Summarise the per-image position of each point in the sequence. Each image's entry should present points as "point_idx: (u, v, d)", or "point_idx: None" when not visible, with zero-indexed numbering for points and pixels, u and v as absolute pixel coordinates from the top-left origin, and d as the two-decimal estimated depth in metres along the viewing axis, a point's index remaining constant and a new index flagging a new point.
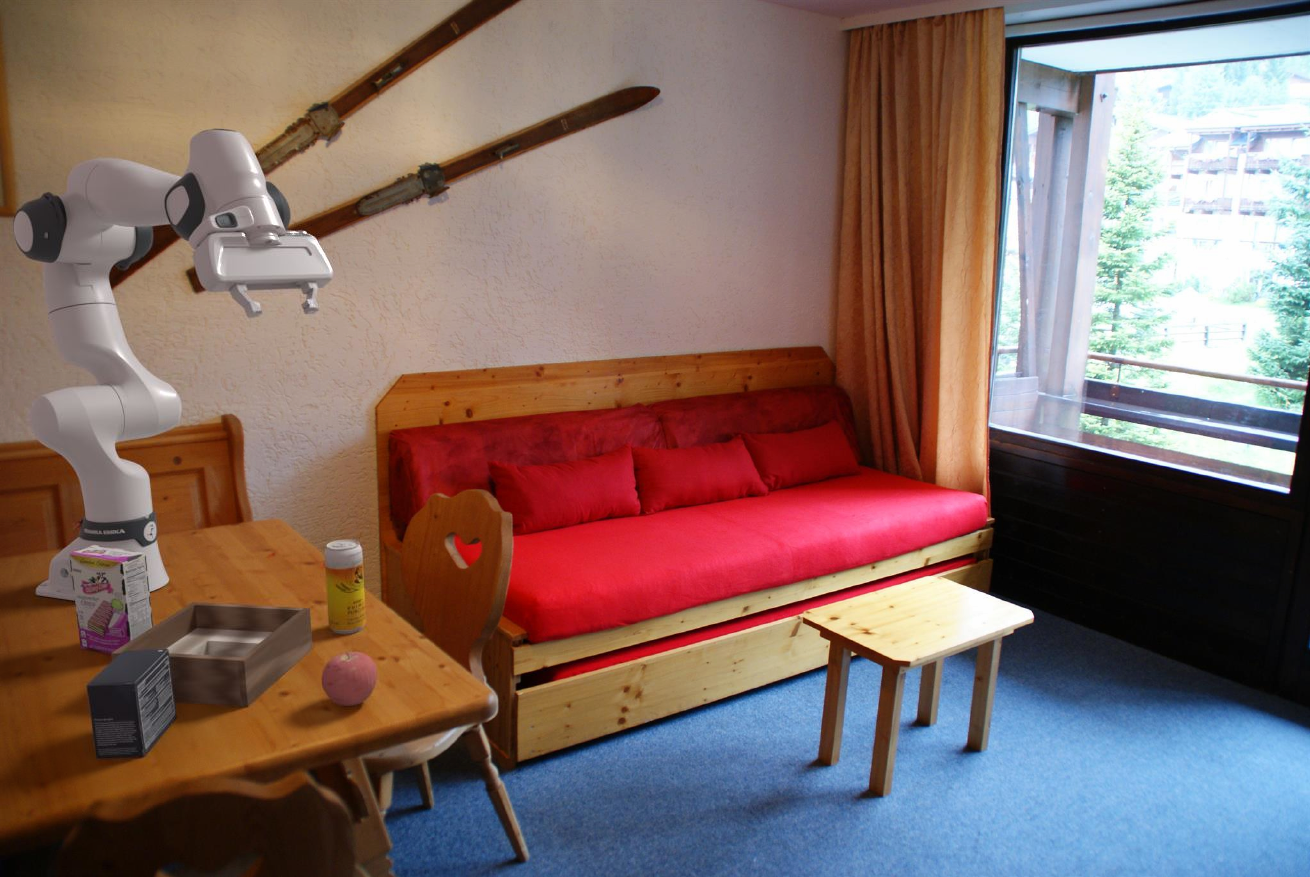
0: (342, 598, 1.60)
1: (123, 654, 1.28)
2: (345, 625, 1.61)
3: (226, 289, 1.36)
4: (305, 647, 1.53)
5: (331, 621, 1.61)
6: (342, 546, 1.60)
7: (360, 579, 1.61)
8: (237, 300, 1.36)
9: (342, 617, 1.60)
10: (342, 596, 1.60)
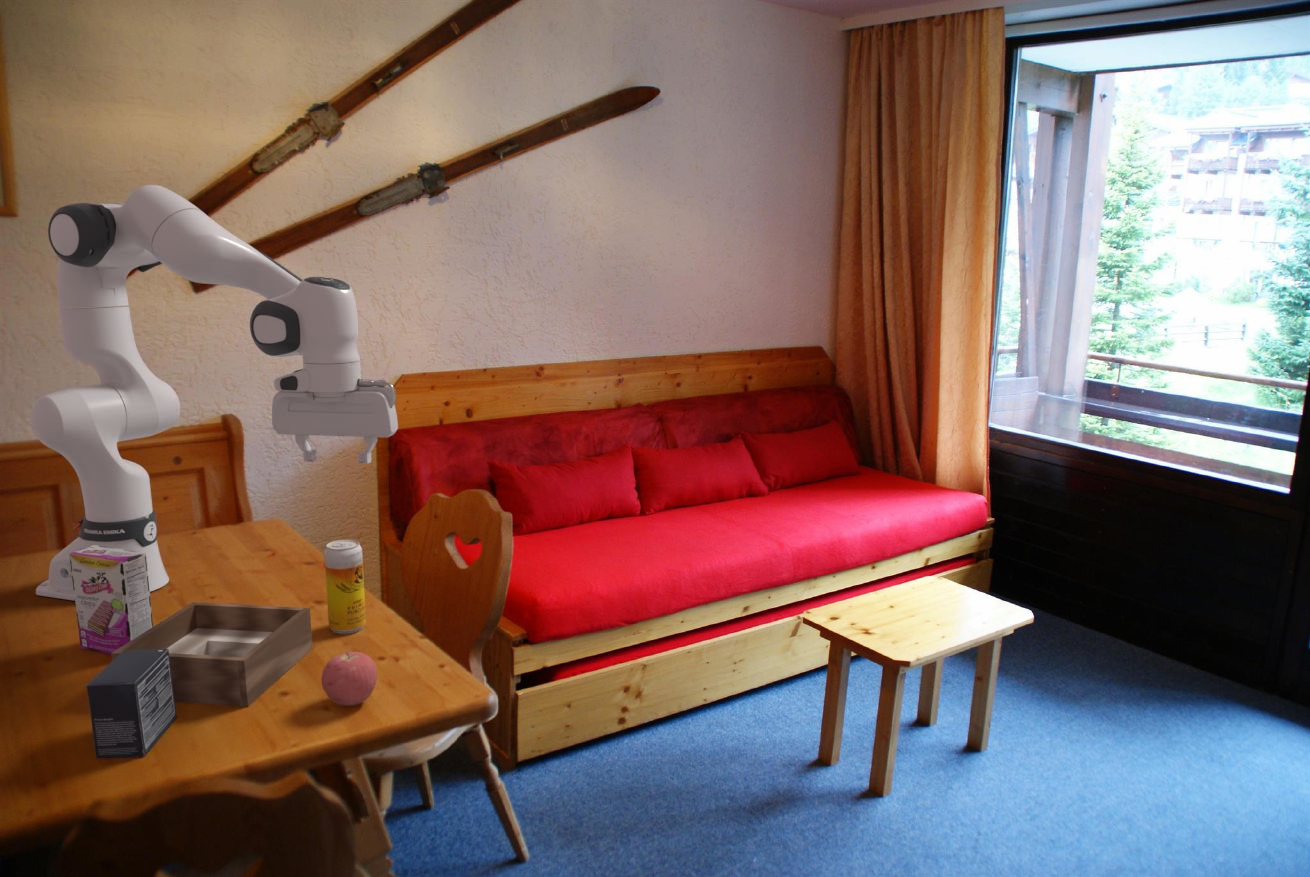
0: (342, 598, 1.60)
1: (123, 654, 1.28)
2: (345, 625, 1.61)
3: None
4: (305, 647, 1.53)
5: (331, 621, 1.61)
6: (342, 546, 1.60)
7: (360, 579, 1.61)
8: None
9: (342, 617, 1.60)
10: (342, 596, 1.60)
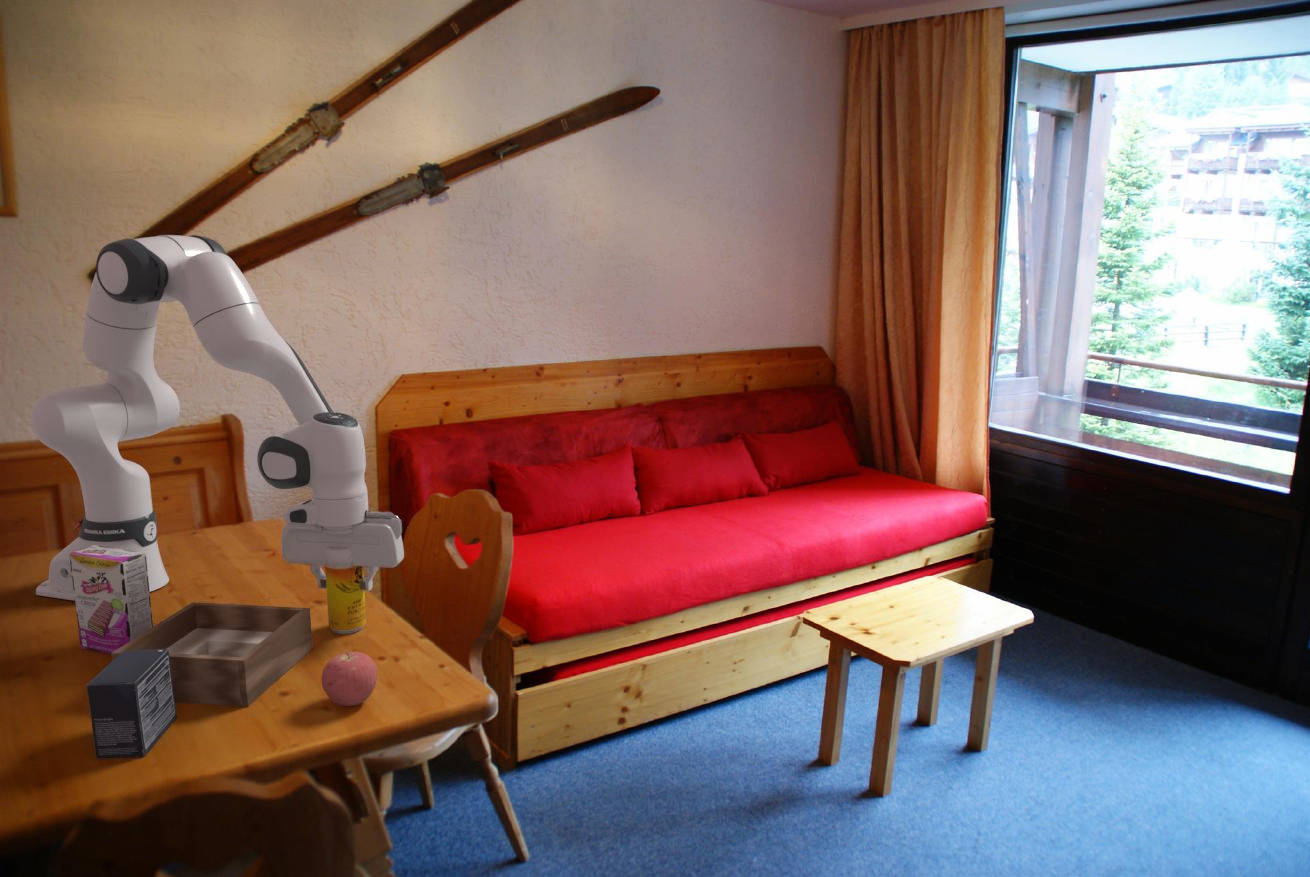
0: (342, 598, 1.60)
1: (123, 654, 1.28)
2: (345, 624, 1.61)
3: None
4: (305, 647, 1.53)
5: (331, 621, 1.61)
6: None
7: (360, 579, 1.61)
8: None
9: (342, 617, 1.60)
10: (342, 596, 1.60)
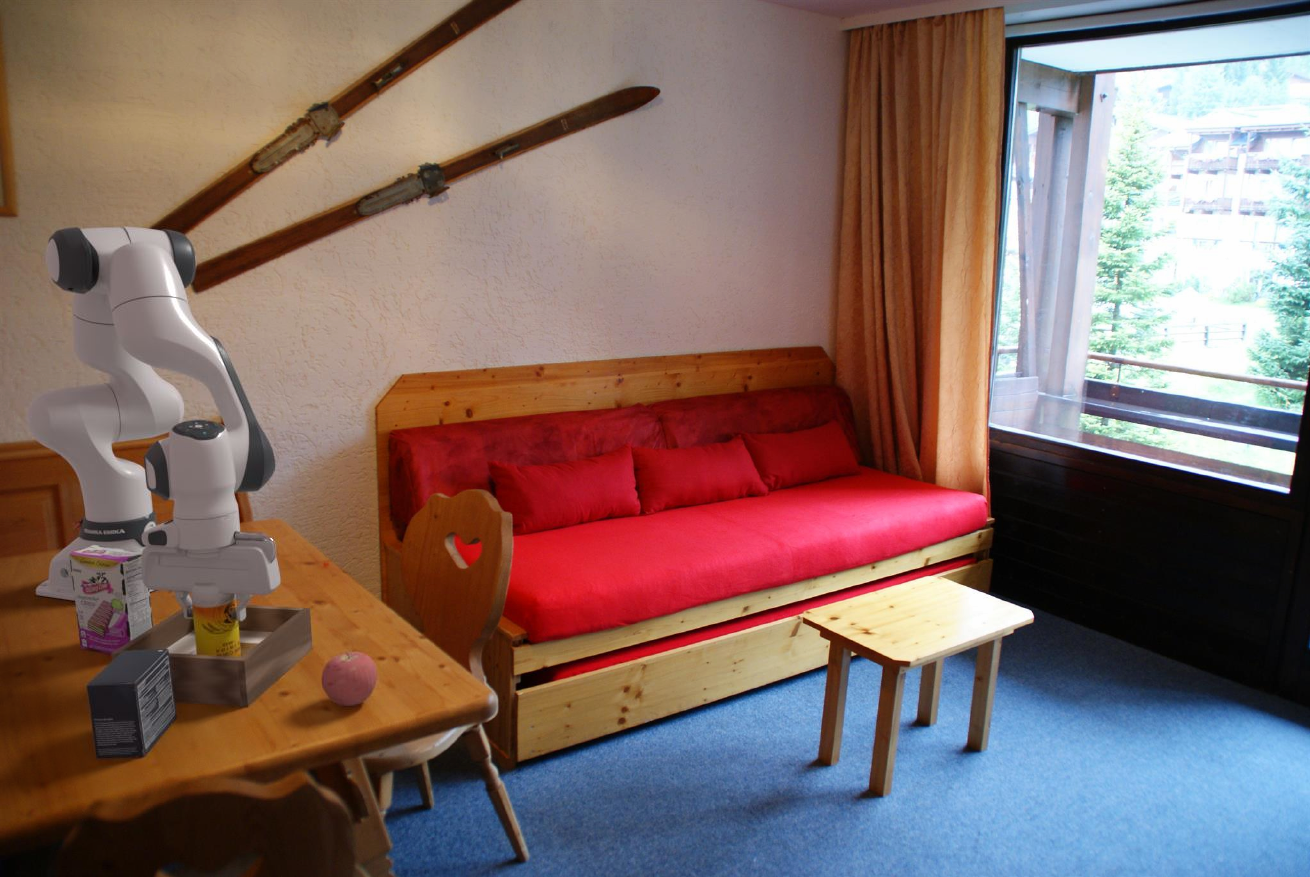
0: (209, 639, 1.42)
1: (123, 654, 1.28)
2: None
3: None
4: (305, 647, 1.53)
5: None
6: None
7: None
8: None
9: None
10: (210, 638, 1.42)
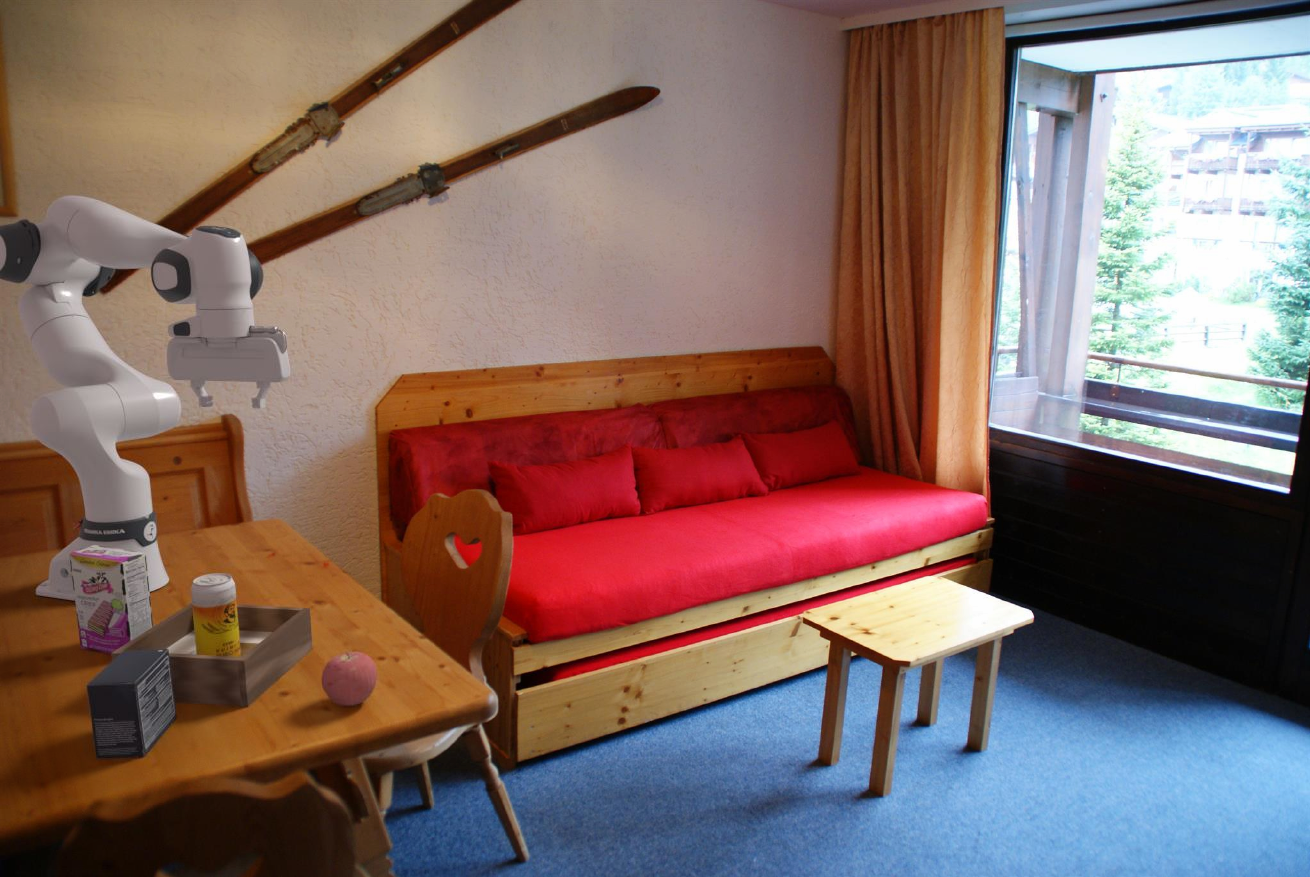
0: (209, 639, 1.42)
1: (123, 654, 1.28)
2: None
3: None
4: (305, 647, 1.53)
5: None
6: (211, 581, 1.43)
7: (232, 618, 1.44)
8: None
9: None
10: (210, 638, 1.42)
